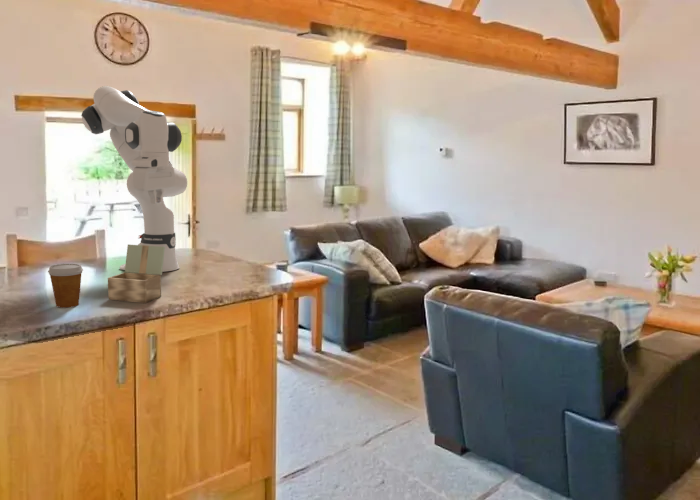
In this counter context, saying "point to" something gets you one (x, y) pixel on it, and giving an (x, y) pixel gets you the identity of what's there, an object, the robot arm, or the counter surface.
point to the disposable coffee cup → (66, 284)
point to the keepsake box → (134, 287)
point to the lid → (144, 259)
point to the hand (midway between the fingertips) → (156, 203)
